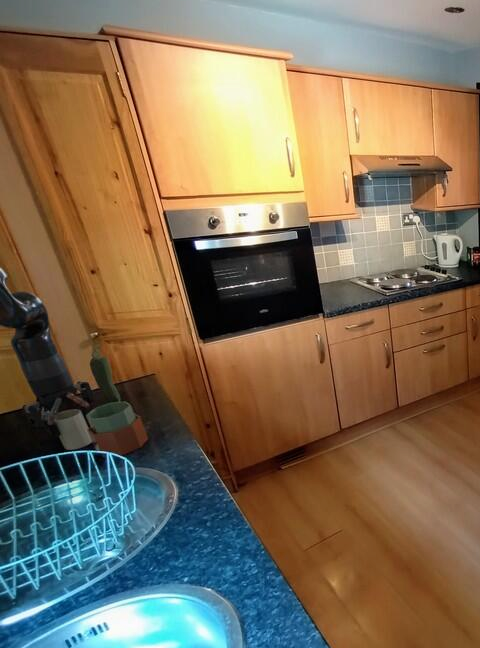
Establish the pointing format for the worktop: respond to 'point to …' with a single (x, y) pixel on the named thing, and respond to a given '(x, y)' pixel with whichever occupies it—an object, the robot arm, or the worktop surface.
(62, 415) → the cup
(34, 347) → the robot arm
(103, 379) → the vegetable
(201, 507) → the worktop surface
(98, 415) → the cup stack
